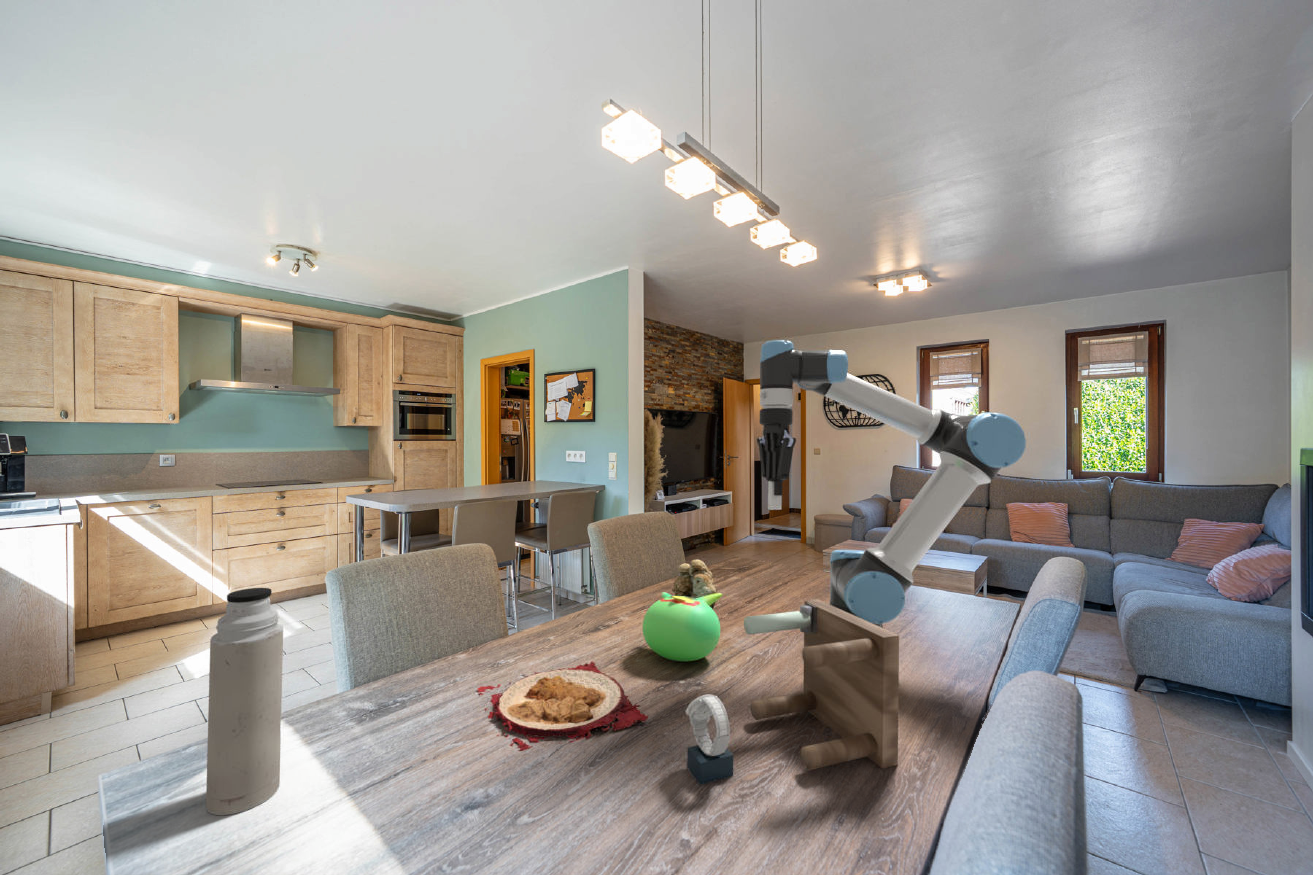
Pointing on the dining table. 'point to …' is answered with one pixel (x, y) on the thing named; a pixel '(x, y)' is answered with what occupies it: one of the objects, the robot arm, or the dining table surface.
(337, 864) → the dining table surface
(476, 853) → the dining table surface
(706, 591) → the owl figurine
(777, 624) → the hinged leg
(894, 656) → the stool
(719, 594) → the toy bird
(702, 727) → the watch
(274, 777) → the thermos bottle
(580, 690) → the plate with food
